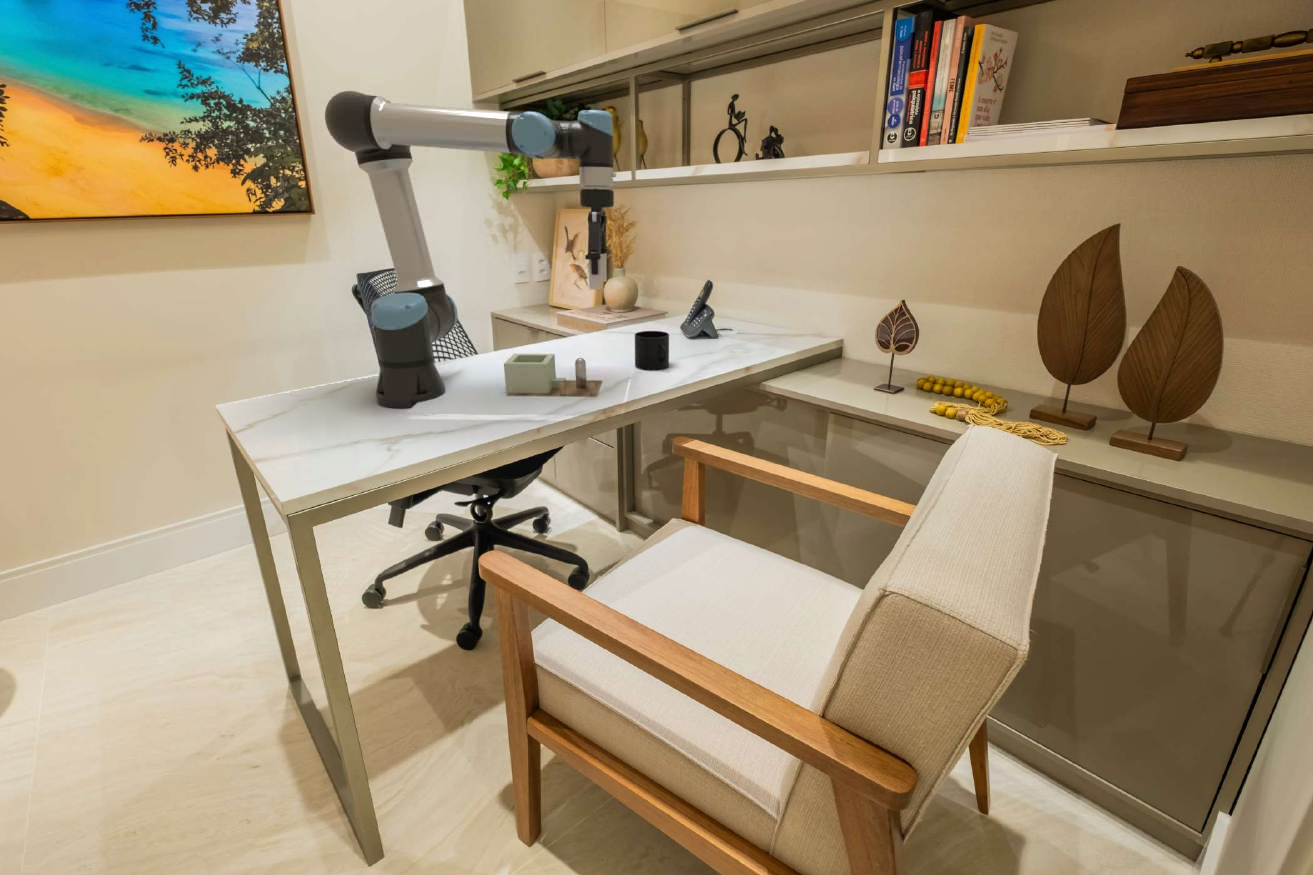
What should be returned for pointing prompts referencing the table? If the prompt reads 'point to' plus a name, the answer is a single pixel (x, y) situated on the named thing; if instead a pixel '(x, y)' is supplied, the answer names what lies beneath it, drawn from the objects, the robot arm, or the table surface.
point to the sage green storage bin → (531, 373)
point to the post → (580, 373)
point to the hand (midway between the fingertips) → (598, 285)
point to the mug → (651, 350)
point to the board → (569, 390)
